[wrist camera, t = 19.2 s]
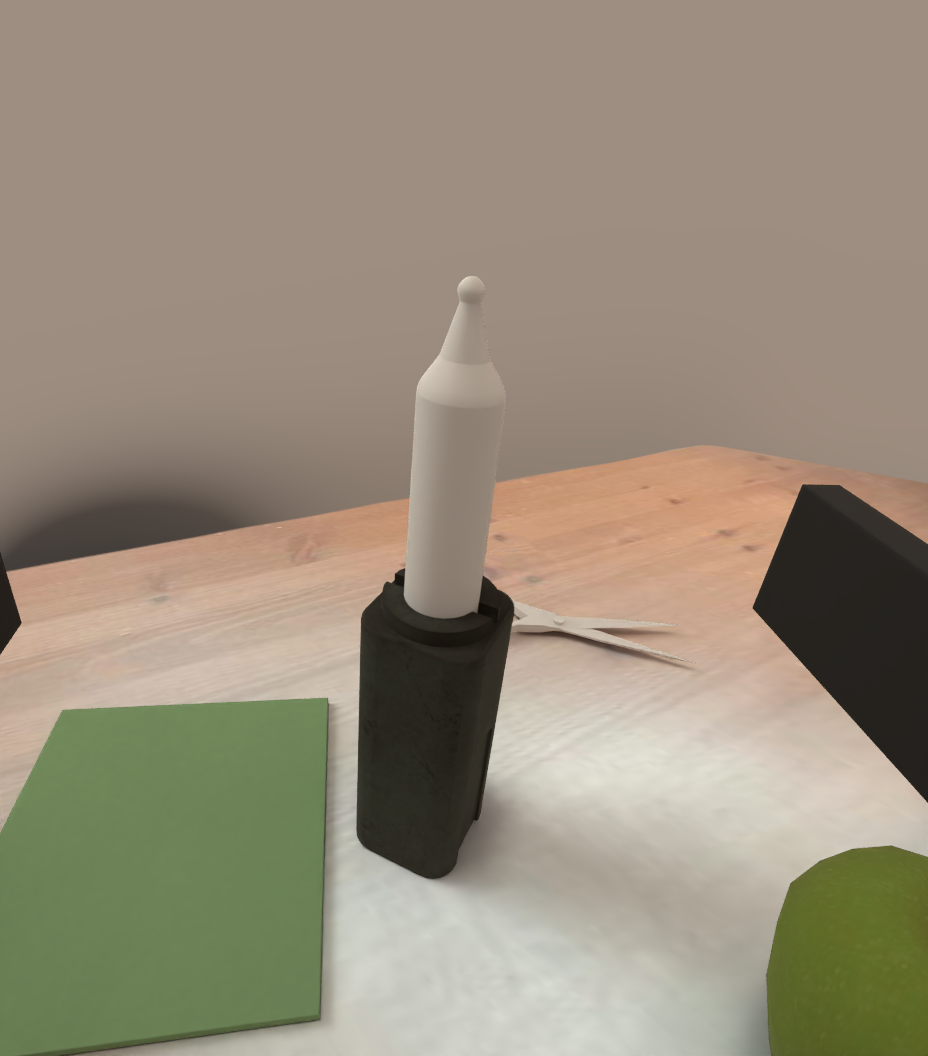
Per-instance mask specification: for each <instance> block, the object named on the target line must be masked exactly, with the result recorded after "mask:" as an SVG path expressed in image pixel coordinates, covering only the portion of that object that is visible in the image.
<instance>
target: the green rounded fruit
mask: <svg viewBox="0 0 928 1056" xmlns="http://www.w3.org/2000/svg"><path fill="white" fill-rule="evenodd" d="M766 977H767V1003H768V1029H769V1042H770V1048H771V1054H772V1056H928V857H926V856H923V855H920V854H916V853H913V852H910V851H907V850H904V849H900V848H897V847H894V846H881V847H869V848H858V849H851V850H848V851H846V852H843V853H840V854H838V855H835V856H832V857H829V858H827V859H824V860H821V861H819V862H818V863H817V864H815V865H814V866H813V867H811V868H810V869H809V870H807V871H806V872H805V873H803V874H802V875H801V876H800V877H798V878H797V879H796V880H794V881H793V882H792V883H791V884H790V887H789V890H788V893H787V895H786V898H785V901H784V904H783V907H782V910H781V913H780V916H779V919H778V921H777V926H776V931H775V935H774V940H773V945H772V950H771V955H770V960H769V965H768V970H767V974H766Z"/></svg>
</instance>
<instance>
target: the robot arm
mask: <svg viewBox="0 0 928 1056" xmlns="http://www.w3.org/2000/svg"><path fill="white" fill-rule="evenodd" d="M753 609H754V610H755V611H756V613H757V614H758V615H759V616H760V617H761V618H762V619H763V620H764V621H765V623H766V624H767V625H768V626H769V627H770V628H771V629H772V630H773V631H774V633H775V634H776V635H777V636H778V637H779V638H780V639H781V640H782V641H783V642H784V644H785V645H786V646H787V647H788V648H789V649H790V650H791V651H792V652H793V654H794V655H795V656H796V657H797V658H798V659H799V660H800V661H801V662H802V664H803V665H804V666H805V667H806V668H807V669H808V670H809V671H810V672H811V674H812V675H813V676H814V677H815V678H816V679H817V680H818V681H819V682H820V684H821V685H822V686H823V687H824V688H825V689H826V690H827V691H828V692H829V694H830V695H831V696H832V697H833V698H834V699H835V700H836V701H837V702H838V704H839V705H840V706H841V707H842V708H843V709H844V710H845V711H846V712H847V714H848V715H849V716H850V717H851V718H852V719H853V720H854V721H855V722H856V723H857V725H858V726H859V727H860V728H861V729H862V730H863V731H864V732H865V733H866V735H867V736H868V737H869V738H870V739H871V740H872V741H873V742H874V743H875V745H876V746H877V747H878V748H879V749H880V750H881V751H882V752H883V753H884V755H885V756H886V757H887V758H888V759H889V760H890V761H891V762H892V763H893V765H894V766H895V767H896V768H897V769H898V770H899V771H900V772H901V773H902V775H903V776H904V777H905V778H906V779H907V780H908V781H909V782H910V783H911V785H912V786H913V787H914V788H915V789H916V790H917V791H918V792H919V793H920V795H921V796H922V797H923V798H924V799H925V800H926V801H927V802H928V544H927V543H925V542H924V541H922V540H921V539H919V538H918V537H916V536H915V535H913V534H912V533H910V532H909V531H907V530H906V529H904V528H903V527H901V526H900V525H898V524H897V523H895V522H894V521H892V520H891V519H889V518H888V517H886V516H885V515H883V514H882V513H880V512H879V511H877V510H876V509H874V508H873V507H871V506H870V505H868V504H867V503H865V502H864V501H862V500H861V499H859V498H858V497H856V496H855V495H853V494H852V493H850V492H849V491H847V490H846V489H844V488H843V487H842V486H840V485H805V484H803V485H802V487H801V490H800V492H799V495H798V497H797V499H796V502H795V504H794V507H793V509H792V512H791V514H790V517H789V519H788V522H787V524H786V527H785V529H784V532H783V534H782V536H781V539H780V541H779V544H778V546H777V549H776V551H775V554H774V556H773V559H772V561H771V564H770V566H769V568H768V571H767V573H766V576H765V578H764V581H763V583H762V586H761V588H760V591H759V593H758V596H757V598H756V601H755V603H754V605H753ZM20 625H21V619H20V616H19V613H18V609H17V606H16V603H15V600H14V596H13V593H12V590H11V586H10V583H9V580H8V576H7V573H6V570H5V567H4V563H3V560H2V557H1V553H0V654H1V653H2V651H3V650H4V648H5V647H6V645H7V644H8V642H9V641H10V639H11V638H12V636H13V635H14V634H15V632H16V631H17V629H18V628H19V626H20Z"/></svg>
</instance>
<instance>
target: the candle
mask: <svg viewBox="0 0 928 1056" xmlns="http://www.w3.org/2000/svg"><path fill="white" fill-rule="evenodd" d="M457 292H458V296H459V299H460V303H459V306H458V308H457V311H456V314H455V316H454V319H453V321H452V324H451V326H450V329H449V331H448V334H447V337H446V339H445V342H444V344H443V347H442V350H441V352H440V354H439V356H438V357H437V358H436V360H435V361H434V362H433V363H432V365H431V366H430V367H429V368H428V370H427V371H426V372H425V374H424V375H423V376H422V378H421V379H420V381H419V383H418V386H417V390H416V405H415V421H414V438H413V455H412V471H411V486H410V487H411V488H410V502H409V519H408V535H407V551H406V567H405V569H402V570H400V571H398V572H397V573H395V580H394V581H393V582H392V583H390V582H386V583H385V584H384V587H383V591H382V593H381V594H380V595H379V596H378V597H377V598H376V599H375V600H374V601H373V602H372V603H371V604H370V605H369V606H368V607H367V608H366V609H365V610H364V611H363V614H362V617H361V646H360V691H359V737H358V783H357V836H358V838H359V841H360V842H361V843H362V844H363V846H365V847H366V848H368V849H369V850H371V851H373V852H375V853H377V854H379V855H381V856H383V857H385V858H387V859H389V860H391V861H393V862H395V863H397V864H399V865H401V866H403V867H405V868H407V869H409V870H411V871H413V872H415V873H417V874H419V875H421V876H424V877H427V878H439V877H442V876H444V875H447V874H448V873H449V872H450V871H451V870H452V869H453V868H454V866H455V865H456V862H457V856H458V850H459V848H460V846H461V844H462V842H463V840H464V838H465V836H466V834H467V832H468V830H469V828H470V826H471V824H472V822H473V820H478V818H479V816H480V812H481V806H482V800H483V794H484V788H485V782H486V776H487V770H488V764H489V759H490V753H491V747H492V741H493V735H494V729H495V723H496V717H497V711H498V705H499V699H500V693H501V687H502V681H503V675H504V669H505V664H506V658H507V652H508V646H509V640H510V634H511V628H512V622H513V616H514V603H513V601H512V599H511V598H510V597H509V596H508V595H507V594H505V593H504V592H502V591H500V590H498V589H497V588H496V587H495V586H494V585H493V584H492V583H491V581H490V580H489V579H487V578H486V577H484V576H483V569H484V562H485V554H486V547H487V539H488V532H489V524H490V517H491V509H492V502H493V494H494V487H495V478H496V472H497V464H498V456H499V449H500V442H501V434H502V426H503V419H504V411H505V404H506V392H505V388H504V386H503V384H502V382H501V379H500V377H499V376H498V373H497V372H496V370H495V368H494V366H493V364H492V362H491V360H490V354H489V349H488V343H487V337H486V331H485V326H484V320H483V314H482V309H481V302H482V300H483V298H484V296H485V292H486V290H485V287H484V285H483V283H482V281H481V280H480V279H479V278H477V277H475V276H468V277H466V278H465V279H464V280H463V281H462V282H461V283H460V284H459V286H458V290H457Z"/></svg>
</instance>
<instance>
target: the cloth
mask: <svg viewBox="0 0 928 1056" xmlns="http://www.w3.org/2000/svg"><path fill="white" fill-rule="evenodd" d="M327 727H328V698H313V699H291V700H269V701H248V702H226V703H204V704H182V705H160V706H139V707H117V708H95V709H73V710H62V712H61V714H60V716H59V718H58V720H57V722H56V724H55V726H54V728H53V730H52V732H51V734H50V736H49V738H48V740H47V742H46V744H45V746H44V748H43V750H42V752H41V754H40V756H39V758H38V760H37V762H36V764H35V766H34V768H33V770H32V772H31V774H30V776H29V778H28V780H27V782H26V784H25V786H24V787H23V789H22V791H21V793H20V795H19V797H18V799H17V801H16V803H15V805H14V807H13V809H12V811H11V813H10V815H9V817H8V819H7V821H6V823H5V825H4V827H3V829H2V831H1V833H0V1056H60V1055H67V1054H74V1053H81V1052H88V1051H95V1050H103V1049H110V1048H117V1047H124V1046H131V1045H139V1044H146V1043H153V1042H160V1041H167V1040H174V1039H182V1038H189V1037H196V1036H203V1035H210V1034H218V1033H225V1032H232V1031H239V1030H246V1029H253V1028H261V1027H268V1026H275V1025H282V1024H289V1023H297V1022H304V1021H311V1020H318V1019H320V994H321V956H322V918H323V880H324V842H325V803H326V765H327Z"/></svg>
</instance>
